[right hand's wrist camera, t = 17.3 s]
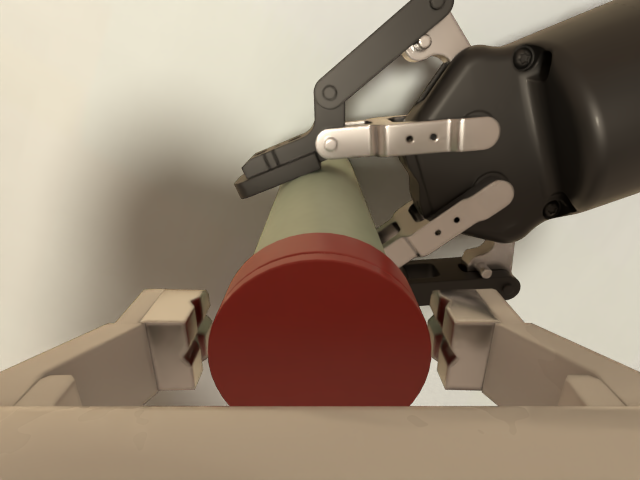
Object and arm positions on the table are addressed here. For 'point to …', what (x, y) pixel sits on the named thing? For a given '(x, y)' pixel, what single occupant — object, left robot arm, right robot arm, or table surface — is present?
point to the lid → (319, 328)
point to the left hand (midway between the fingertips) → (265, 235)
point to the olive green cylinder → (321, 207)
